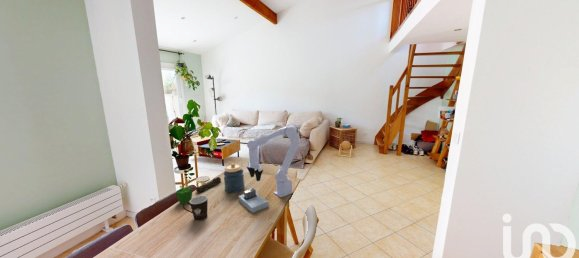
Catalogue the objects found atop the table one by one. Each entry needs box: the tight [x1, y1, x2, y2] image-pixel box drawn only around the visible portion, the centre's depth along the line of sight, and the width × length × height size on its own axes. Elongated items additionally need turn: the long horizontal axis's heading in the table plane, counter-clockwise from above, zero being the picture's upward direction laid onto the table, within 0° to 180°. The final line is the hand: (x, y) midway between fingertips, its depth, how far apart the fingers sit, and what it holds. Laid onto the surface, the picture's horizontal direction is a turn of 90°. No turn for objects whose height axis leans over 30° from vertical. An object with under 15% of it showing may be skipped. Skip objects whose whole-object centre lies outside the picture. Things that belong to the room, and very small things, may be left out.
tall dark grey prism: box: [243, 187, 257, 200], centre depth 124 cm, size 6×3×7 cm, turn 128°
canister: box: [222, 162, 245, 193], centre depth 141 cm, size 13×13×18 cm
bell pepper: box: [175, 185, 193, 205], centre depth 126 cm, size 8×8×10 cm
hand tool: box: [195, 176, 222, 194], centre depth 145 cm, size 19×4×5 cm, turn 146°
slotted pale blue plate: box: [238, 192, 269, 214], centre depth 122 cm, size 10×17×3 cm, turn 38°
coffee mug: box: [182, 194, 209, 222], centre depth 110 cm, size 12×9×10 cm
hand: (255, 178), depth 134 cm, fingers open, 7 cm apart
